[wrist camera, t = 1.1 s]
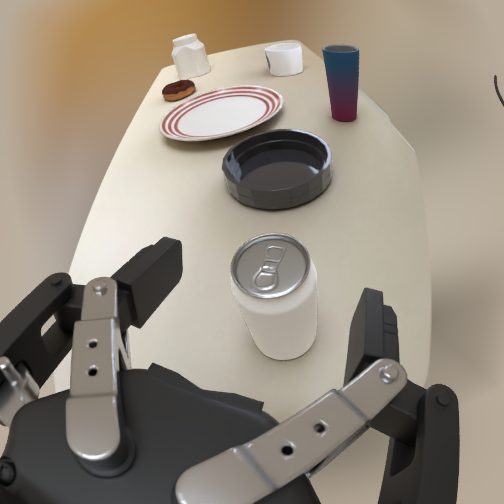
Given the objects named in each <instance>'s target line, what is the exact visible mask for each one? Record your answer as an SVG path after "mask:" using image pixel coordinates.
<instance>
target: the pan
mask: <svg viewBox="0 0 504 504" xmlns="http://www.w3.org/2000/svg"><path fill="white" fill-rule="evenodd" d="M222 171H223V174H224V177H225V181H226V184H227V186H228V189H229V191H230V193H231V195H232V196H234V197H235V198H236V199H237V200H238V201H240V202H241V203H244V204H246V205H249V206H252V207H255V208H263V209H281V208H290V207H294V206H297V205H300V204H302V203H305V202H308V201H310V200H312V199H313V198H315V197H316V196H318V195H319V194H321V193H322V192H323V191H324V190H325V188H326V187H327V186H328V184H329V183H330V181H331V176H332V153H331V151H330V148H329V145H328V144H327V143H326V142H325V141H324V140H322V139H321V138H320V137H318V136H316V135H314V134H312V133H309V132H305V131H301V130H296V129H276V130H269V131H264V132H261V133H257V134H254V135H251V136H249V137H247V138H245V139H243V140H241V141H239V142H238V143H237V144H235V145H234V146H233V147H232V148H231V149H229V151H228V152H227V154H226V155H225V157H224V158H223V164H222Z"/></svg>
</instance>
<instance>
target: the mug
mask: <svg viewBox="0 0 504 504" xmlns="http://www.w3.org/2000/svg"><path fill="white" fill-rule="evenodd" d="M265 54H266V58H267V62H268V66H269V71H270V73H271V74H272V75H274V76H291V75H296V74H299V73H301V72H302V71H303V62H302V50H301V45H299V44H295V43H284V44H282V43H278V44H276V45H272V46H269V47H266V48H265Z"/></svg>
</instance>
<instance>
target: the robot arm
mask: <svg viewBox="0 0 504 504" xmlns="http://www.w3.org/2000/svg"><path fill="white" fill-rule="evenodd" d="M494 83H495V89H496V92H497V95H498V97H499V99H500V101H501V103H502V104H503V106H504V101H503V99H502V97H501V95H500V93H499V90H498V87H497V76H496V75H495V76H494ZM182 272H183V265H182V244H181V241H180V240H176V239H172V238H168V237H163V238H162V239H160V240H159V241H158V242H157V243H156V244H155V245H150V246H148V247H145V248H143V249H141V250H140V251H139V252H138V253H137V254H136V255H135V257H134V256H133V257H132V258H131V259H130V260H129V262H127V263H126V264H124V265H123V266H122V267H121V268H120V269H119V270H118V271H117V272H116V273H114V274H113V275H112V276H111V277H110V278H109V277H99V278H96V279H93V280H91V281H90V282H89V283H88V284H87V285H77V284H73V283H72V280H71V277H70V275H68V274H67V273H55V274H52V275H50V276H49V277H47V278H46V279H45V280H44V281H43V282H42V283H41V284H39V285H38V286H37V287H36V288H35V289H34V290H33V291H32V292H31V293H30V294H29V295H28V296H27V297H26V298H24V299H23V300H22V302H20V303H19V304H18V306H16V307H15V309H13V310H12V311H11V312H10V313H9V314H8V315H7V316H6V317H5V318H4V319H3V320H2V321H1V323H0V424H1V425H3V426H7V427H9V428H10V430H9V436H8V440H7V444H6V447H5V450H4V452H3V454H2V456H1V458H0V504H321V503H320V501H319V499H318V497H317V495H316V493H315V491H314V489H313V487H312V485H311V483H310V481H309V478H310V477H312V476H313V475H314V474H316V473H317V472H318V471H320V470H321V469H322V468H323V467H325V466H326V465H327V464H329V463H330V462H331V461H332V460H333V459H334V458H335V457H337V456H338V455H339V454H340V453H341V452H342V451H344V450H345V449H346V448H347V447H348V446H350V444H352V443H353V442H354V441H355V440H356V439H358V438H359V437H360V436H361V435H362V434H363V433H364V432H365V431H366V430H368V429H369V428H370V427H372V428H374V429H376V430H378V431H380V432H382V433H384V434H386V435H388V436H390V440H389V447H388V454H387V460H386V466H385V471H384V477H383V481H382V486H381V491H380V496H379V501H378V504H456V500H457V490H458V476H459V446H460V444H459V442H460V440H459V411H458V410H459V409H458V399H457V396H456V394H455V393H454V392H453V391H452V390H451V389H450V388H449V387H447V386H445V385H442V384H435V385H432V386H431V387H429V389H428V390H426V389H424V388H422V387H420V386H418V385H416V384H414V383H412V382H411V381H410V380H408V379H407V373H406V371H405V369H404V368H403V366H402V365H401V364H400V362H399V342H398V328H397V316H396V314H395V312H394V311H393V309H392V307H391V306H387V305H383V292H382V291H377V290H373V289H369V288H364V290H363V293H362V295H361V298H360V301H359V303H358V306H357V308H356V311H355V313H354V316H353V319H352V322H351V327H350V334H349V344H348V353H347V362H346V370H345V377H344V384H343V387H342V388H341V389H340V390H338V391H337V390H336V389H332V390H330V391H329V392H327V393H326V394H324V395H323V396H321V397H320V398H319V399H317V400H316V401H314V402H313V403H311V404H310V405H308V406H307V407H305V408H304V409H302V410H301V411H299V412H298V413H296V414H295V415H293V416H292V417H290V418H288V419H287V420H285V421H284V422H282V423H281V424H279V422H277V421H276V420H275V419H274V418H273V417H272V416H270V415H269V414H267V413H266V412H264V411H262V409H263V405H264V402H261V401H257V400H254V399H251V398H247V397H244V396H241V395H238V394H235V393H226V392H217V391H209V390H203V389H201V388H199V387H197V386H196V385H194V384H193V383H191V382H190V381H188V380H187V379H186V378H184V377H183V376H181V375H180V374H178V373H177V372H174V371H172V370H169V369H167V368H164V367H162V366H159V365H157V364H155V363H152V364H151V366H150V367H149V368H148V370H147V369H132V367H131V358H130V347H129V334H128V328H129V326H130V325H132V326H135V327H137V328H139V329H140V328H141V327H142V326H143V325H144V324H145V322H146V321H147V320H148V319H149V317H150V316H151V315H152V314H153V313H154V311H155V310H156V309H157V308H158V307H159V305H160V304H161V303H162V302H163V300H164V299H165V298H166V297H167V296H168V294H169V293H170V292H171V291H172V290H173V289H174V287H175V286H176V285H177V284H178V283H179V281H180V279H181V276H182ZM53 314H54V317H55V319H56V322H55V323H54V324H53V325H52V326H51V327H50V328H49V329H48V331H47V332H46V333H45V334H44V335H43V336H41V328H42V326H43V325H44V323H45V322H46V321H47V320H48V319H49V318H50V317H51V316H52V315H53ZM71 349H72V358H71V376H70V389H68V390H65V391H62V392H58V393H55V394H52V395H49V396H46V397H43V398H40V399H38V396H39V390H40V388H41V387H42V386H43V384H44V383H45V382H46V380H47V379H48V378H49V376H50V375H51V374H52V373H53V371H54V370H55V369H56V368H57V366H58V365H59V364H60V362H61V361H62V360H63V359H64V357H65V356H66V355H67V354H68V352H69V351H70V350H71Z"/></svg>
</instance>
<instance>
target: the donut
mask: <svg viewBox="0 0 504 504" xmlns="http://www.w3.org/2000/svg"><path fill="white" fill-rule="evenodd" d="M194 90H195V85H194V83H193V82H192V81H190V80H180V81H177V82H174V83H171V84H168V85H166V86H165V87H164V88H163V90H162V94H163V97H164V98H165V99H166V100H179V99H182V98H184V97H186V96H188V95H190V94H191V93H192V92H193V91H194Z"/></svg>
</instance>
